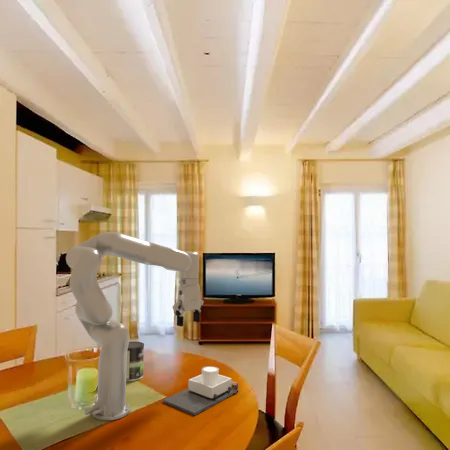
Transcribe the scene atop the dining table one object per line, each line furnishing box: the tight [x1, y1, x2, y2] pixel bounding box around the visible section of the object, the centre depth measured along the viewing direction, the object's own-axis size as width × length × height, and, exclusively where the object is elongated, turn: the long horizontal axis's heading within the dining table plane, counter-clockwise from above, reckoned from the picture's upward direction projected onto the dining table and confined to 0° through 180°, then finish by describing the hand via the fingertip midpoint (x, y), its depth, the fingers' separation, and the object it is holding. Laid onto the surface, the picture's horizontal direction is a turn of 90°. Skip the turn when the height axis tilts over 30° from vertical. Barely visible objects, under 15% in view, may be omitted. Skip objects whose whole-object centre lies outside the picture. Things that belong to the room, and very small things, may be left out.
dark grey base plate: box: [162, 380, 240, 416], centre depth 146 cm, size 26×16×4 cm, turn 142°
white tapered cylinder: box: [201, 365, 220, 387], centre depth 150 cm, size 7×7×7 cm
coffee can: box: [126, 341, 145, 382], centre depth 165 cm, size 10×10×14 cm
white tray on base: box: [187, 373, 233, 398], centre depth 150 cm, size 12×14×4 cm
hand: (188, 323), depth 155 cm, fingers open, 9 cm apart
